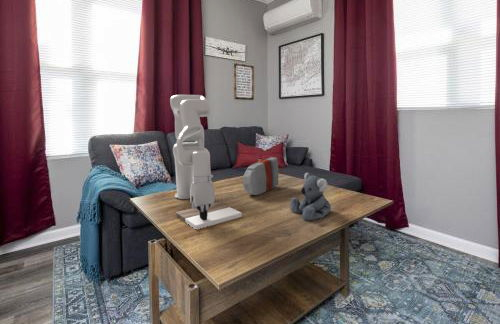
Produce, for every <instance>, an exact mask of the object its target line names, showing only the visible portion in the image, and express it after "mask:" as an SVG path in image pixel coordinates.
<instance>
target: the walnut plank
mask: <svg viewBox="0 0 500 324" xmlns="http://www.w3.org/2000/svg"><path fill="white" fill-rule="evenodd" d="M228 207H229V206H228V205H226V204H224V203H222V202H219V201H217V202H214V204H213V205H211V206H210V207H209V209H208V211H207V213H209V212H213V211H216V210H220V209H224V208H228ZM197 215H200V211H199V210H198V209H192V208H186V209H183V210H179V211H175V217H176V216H177V219H179V218H180V219H179V220H181V221H182V220H183V221H184V223H185V218H189V217H193V216H197ZM183 221H182V222H183Z"/></svg>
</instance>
